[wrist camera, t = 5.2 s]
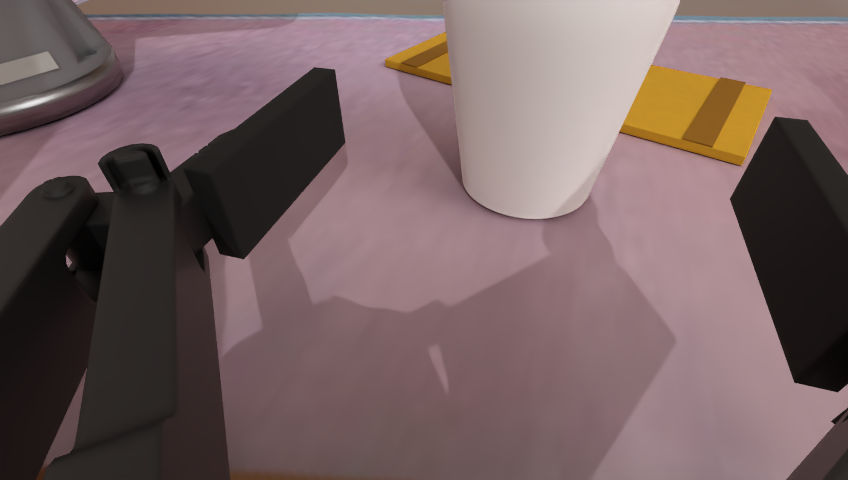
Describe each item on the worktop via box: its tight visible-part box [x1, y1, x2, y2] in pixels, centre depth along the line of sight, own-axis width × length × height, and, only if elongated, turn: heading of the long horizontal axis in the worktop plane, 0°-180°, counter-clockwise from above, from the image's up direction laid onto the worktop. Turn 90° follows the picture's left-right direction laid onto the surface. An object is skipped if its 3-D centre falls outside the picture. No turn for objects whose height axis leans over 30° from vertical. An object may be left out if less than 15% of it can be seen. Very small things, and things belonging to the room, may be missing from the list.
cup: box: [443, 0, 680, 219], centre depth 20 cm, size 9×9×12 cm
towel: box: [385, 32, 772, 165], centre depth 34 cm, size 26×11×1 cm, turn 53°
